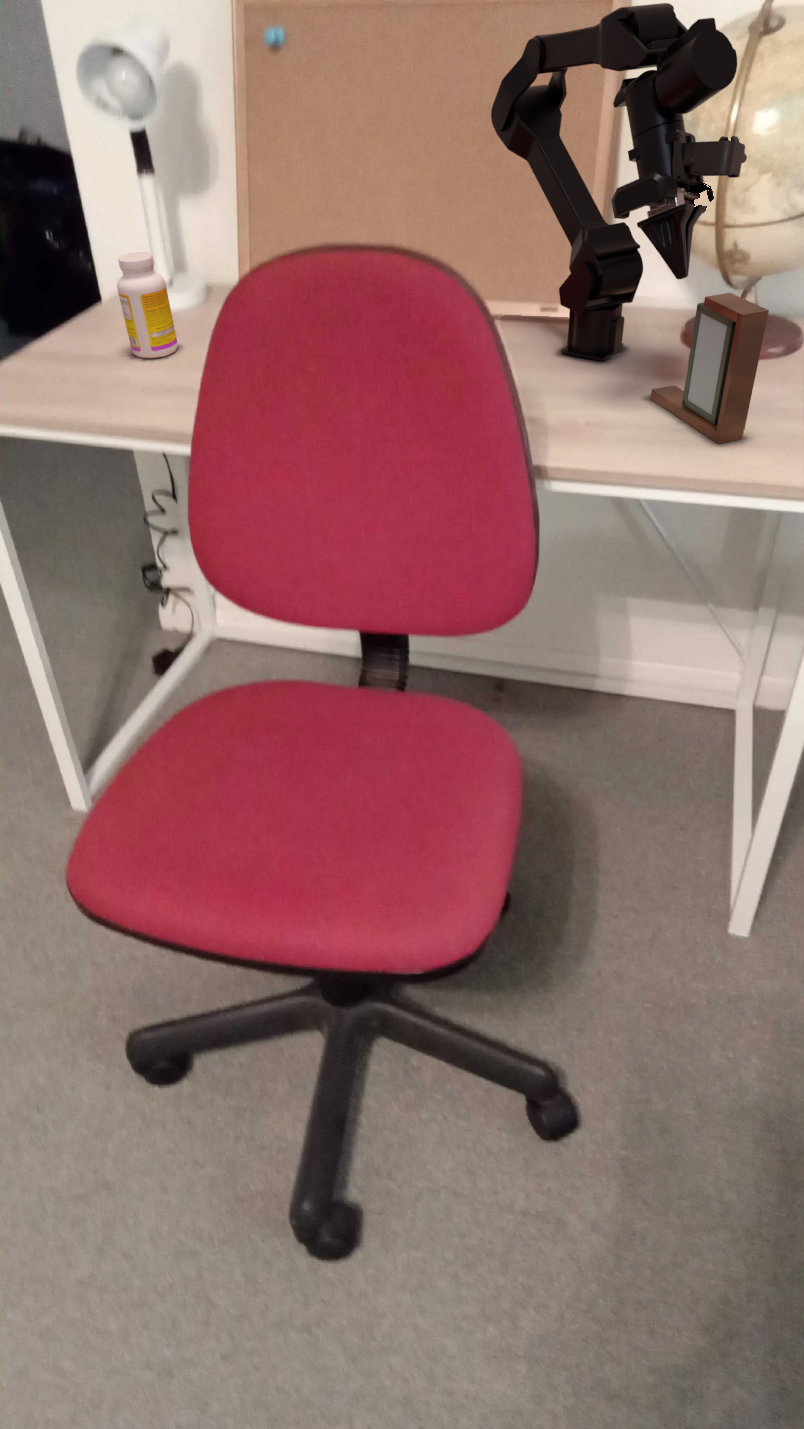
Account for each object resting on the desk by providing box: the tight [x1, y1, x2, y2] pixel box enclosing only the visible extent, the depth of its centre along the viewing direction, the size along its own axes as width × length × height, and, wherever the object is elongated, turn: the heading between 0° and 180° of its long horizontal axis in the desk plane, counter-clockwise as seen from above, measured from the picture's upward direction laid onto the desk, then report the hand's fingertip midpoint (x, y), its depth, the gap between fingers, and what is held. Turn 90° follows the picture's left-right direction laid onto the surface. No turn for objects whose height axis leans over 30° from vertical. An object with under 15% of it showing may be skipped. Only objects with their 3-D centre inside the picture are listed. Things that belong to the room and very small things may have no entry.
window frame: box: [649, 292, 770, 445], centre depth 106 cm, size 14×3×14 cm, turn 19°
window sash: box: [682, 302, 736, 425], centre depth 104 cm, size 7×1×11 cm, turn 20°
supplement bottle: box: [116, 251, 179, 359], centre depth 132 cm, size 7×7×13 cm
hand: (682, 278), depth 109 cm, fingers closed
